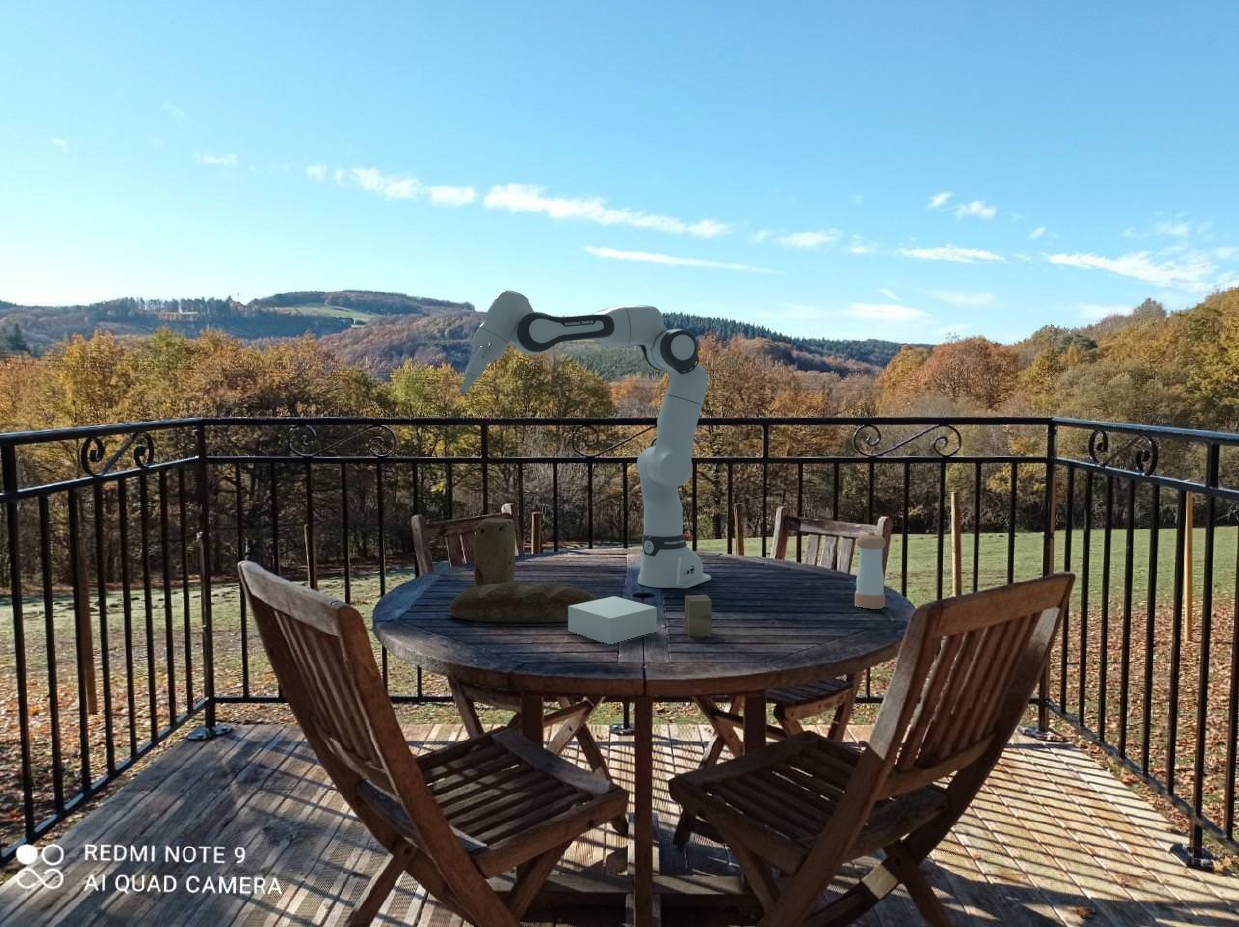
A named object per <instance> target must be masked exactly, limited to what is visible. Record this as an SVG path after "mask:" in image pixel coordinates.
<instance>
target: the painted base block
mask: <svg viewBox="0 0 1239 927" xmlns="http://www.w3.org/2000/svg"><path fill="white" fill-rule="evenodd" d="M657 613H658V608H657V607H656V606H653V605H649V604H645V603H641V602H637V601H634V600H630V599H628V598H627V599H626V598H623V597H619V596H616V595H614V596H609V597H604V598H598V600H594V601H590V602H585V603H580V604H575V605H571V606H568V622H567V624H568V625H567V628H568V630H567V632H570V633H573V634H576V633H577V634H576V635H579V634H580V636H582V635H583V637H585V636H586V637H585V638H588V639H591V640H595V641H597V642H600V643H603V642H604V644H606V643H607V644H606V645H609V644H612V645H615V644H618V643H617V642H619V643H621V642H620V641H623V642H625V641H624V640H626V641H628V640H627V639H630V640H632V639H631V638H634V637H637V636H641V635H644V634H648V633H652V634H655V633H654V632H656V633H657V626H658V625H657V622H658V620H657V618H658V616H657ZM641 637H642V636H641ZM637 638H638V637H637ZM634 639H635V638H634ZM614 643H615V644H614Z"/></svg>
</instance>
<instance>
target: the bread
mask: <svg viewBox="0 0 1239 927" xmlns="http://www.w3.org/2000/svg"><path fill="white" fill-rule="evenodd" d="M594 600H599V598H598V597H597V596H595V594H593V593H591V592H589V591H587V590H584V589H582V588H579V587H578V588H577V587H573V586H567V585H565V584H562V583H557V582H556V583H555V582H546V583H545V582H544V583H542V582H541V583H538V582H530V581H519V580H517V581H515V580H514V582H505V583H502V584H487V585H481V586H476V587H474V586H473V587H470V588H467V589H465V590H464V591H462V592H461V593H460V594H458V595H456V597H454V598H453V599H452V601H451V603H450V604H449V612H450V615H451V616H452V617H453V618H456V619H459V620H469V621H475V622H485V623H505V624H506V623H510V624H511V623H512V624H514V623H517V624H519V623H520V624H522V623H523V624H524V623H525V624H527V623H528V624H536V623H537V624H540V623H541V624H542V623H543V624H544V623H545V624H550V623H551V624H552V623H568V606H571V605H575V604H580V603H585V602H590V601H594Z"/></svg>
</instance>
